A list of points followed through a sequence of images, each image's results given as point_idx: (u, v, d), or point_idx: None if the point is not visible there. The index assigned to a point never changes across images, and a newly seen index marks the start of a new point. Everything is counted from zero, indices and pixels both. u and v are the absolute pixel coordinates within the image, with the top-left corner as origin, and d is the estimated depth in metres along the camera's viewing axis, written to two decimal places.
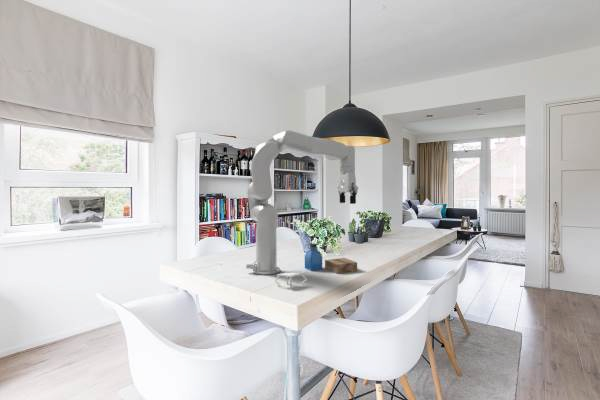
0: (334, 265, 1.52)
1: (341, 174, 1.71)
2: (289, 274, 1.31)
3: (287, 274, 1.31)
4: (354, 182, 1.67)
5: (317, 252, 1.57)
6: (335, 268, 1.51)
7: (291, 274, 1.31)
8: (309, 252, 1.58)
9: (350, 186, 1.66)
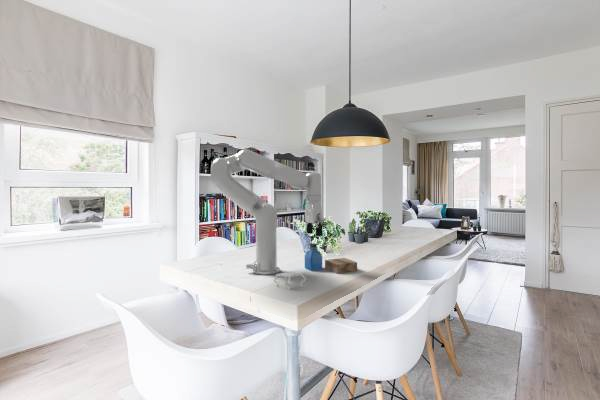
0: (334, 265, 1.52)
1: (307, 203, 1.58)
2: (288, 274, 1.31)
3: (286, 274, 1.31)
4: (320, 213, 1.54)
5: (317, 252, 1.57)
6: (335, 268, 1.51)
7: (290, 274, 1.31)
8: (309, 252, 1.58)
9: (316, 217, 1.53)
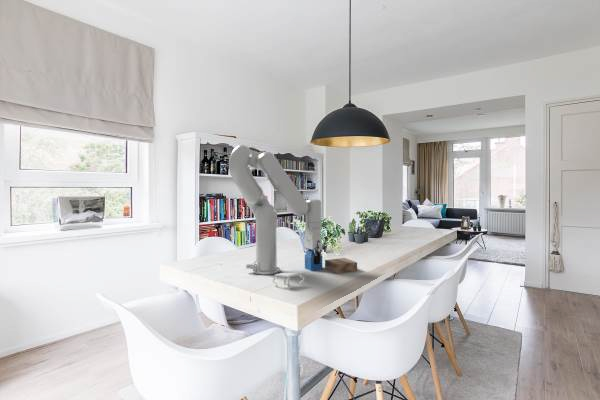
0: (334, 265, 1.52)
1: (306, 229, 1.59)
2: (287, 274, 1.31)
3: (285, 274, 1.31)
4: (320, 240, 1.54)
5: None
6: (335, 268, 1.51)
7: (289, 274, 1.31)
8: (309, 252, 1.58)
9: (315, 246, 1.54)
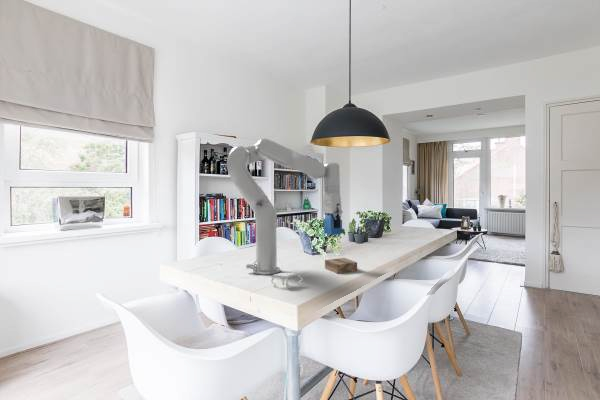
0: (334, 265, 1.52)
1: (325, 194, 1.57)
2: (285, 274, 1.31)
3: (283, 274, 1.31)
4: (339, 203, 1.53)
5: None
6: (335, 268, 1.51)
7: (287, 274, 1.31)
8: (328, 216, 1.56)
9: (335, 209, 1.52)
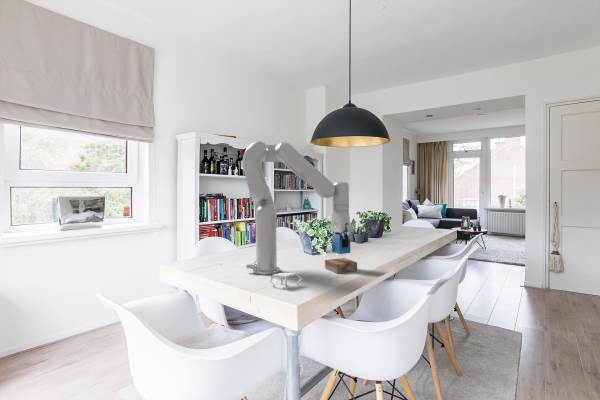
0: (334, 265, 1.52)
1: (334, 213, 1.57)
2: (284, 274, 1.31)
3: (282, 274, 1.31)
4: (348, 222, 1.52)
5: None
6: (335, 268, 1.51)
7: (286, 274, 1.31)
8: (337, 235, 1.56)
9: (343, 229, 1.52)
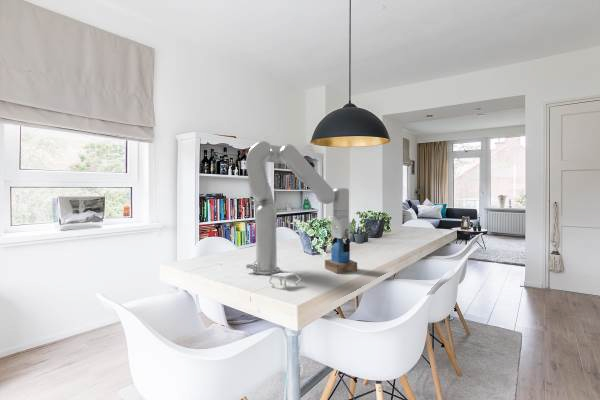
0: (334, 265, 1.52)
1: (334, 218, 1.57)
2: (283, 274, 1.31)
3: (281, 274, 1.31)
4: (348, 228, 1.53)
5: None
6: (335, 268, 1.51)
7: (285, 274, 1.31)
8: (336, 244, 1.56)
9: (343, 233, 1.51)
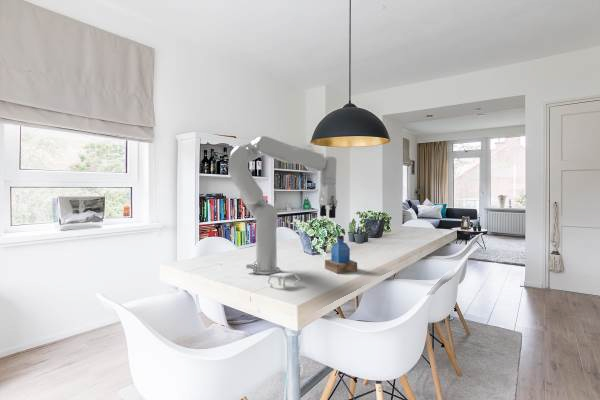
0: (334, 265, 1.52)
1: (321, 186, 1.63)
2: (282, 274, 1.31)
3: (280, 274, 1.30)
4: (334, 195, 1.58)
5: (344, 244, 1.55)
6: (335, 268, 1.51)
7: (284, 274, 1.31)
8: (336, 244, 1.56)
9: (329, 199, 1.57)
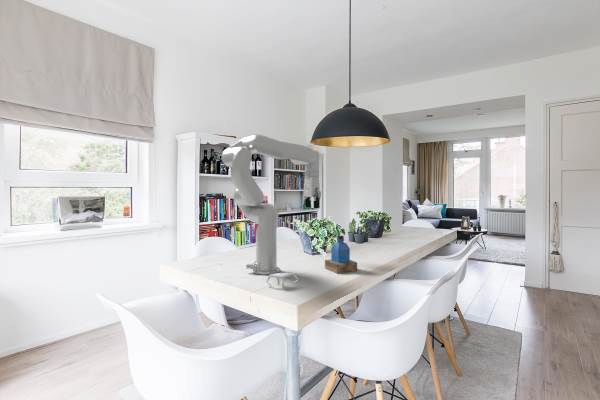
0: (334, 265, 1.52)
1: (306, 179, 1.72)
2: (281, 274, 1.30)
3: (279, 274, 1.30)
4: (318, 187, 1.68)
5: (344, 244, 1.55)
6: (335, 268, 1.51)
7: (283, 274, 1.31)
8: (336, 244, 1.56)
9: (313, 191, 1.67)
